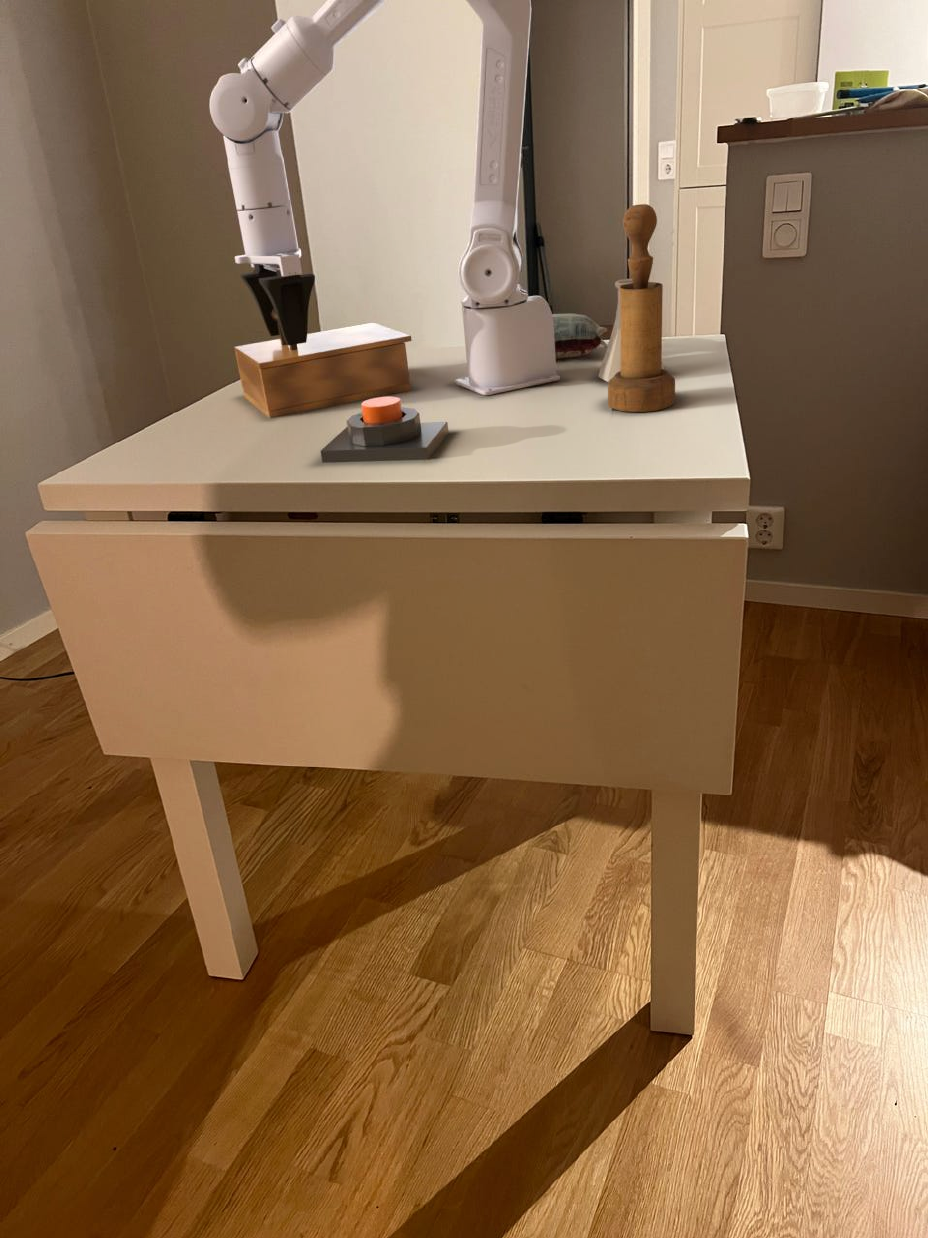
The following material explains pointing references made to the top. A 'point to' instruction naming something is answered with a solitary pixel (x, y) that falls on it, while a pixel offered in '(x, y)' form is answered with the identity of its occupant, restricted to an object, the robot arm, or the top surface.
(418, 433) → the switch block
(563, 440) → the top surface
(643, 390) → the mortar and pestle
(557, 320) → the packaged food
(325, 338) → the lid
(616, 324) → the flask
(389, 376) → the wooden box
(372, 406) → the button
